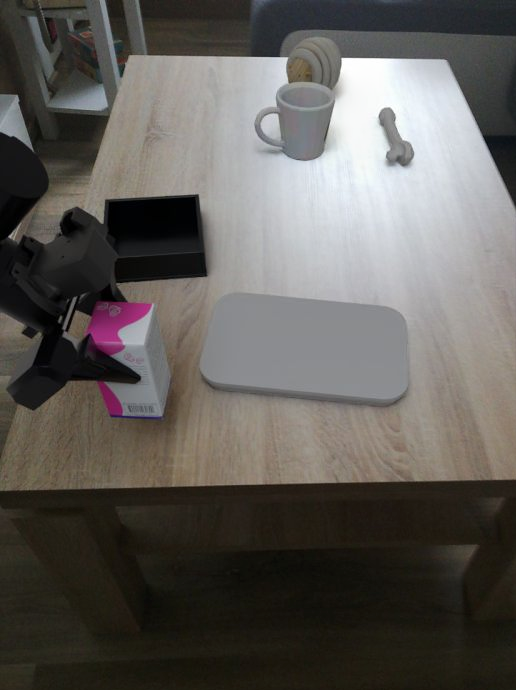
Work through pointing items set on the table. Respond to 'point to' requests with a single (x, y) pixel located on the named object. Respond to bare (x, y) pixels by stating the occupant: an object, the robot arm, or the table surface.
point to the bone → (395, 139)
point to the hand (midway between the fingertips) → (143, 357)
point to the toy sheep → (315, 62)
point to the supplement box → (132, 358)
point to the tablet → (306, 349)
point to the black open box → (156, 237)
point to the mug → (300, 119)
